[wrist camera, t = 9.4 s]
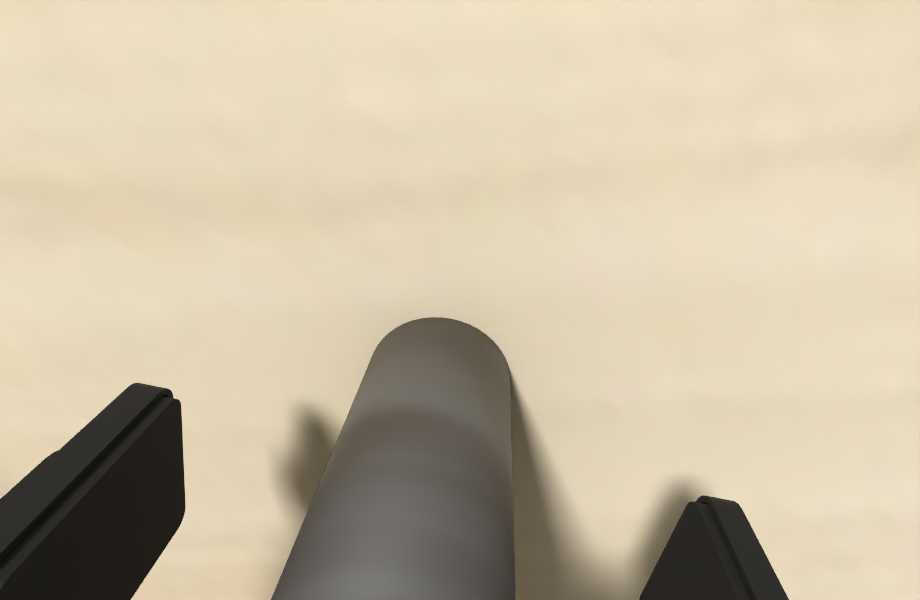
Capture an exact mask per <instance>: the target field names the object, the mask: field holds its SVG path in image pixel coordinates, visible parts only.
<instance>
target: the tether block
mask: <svg viewBox="0 0 920 600" xmlns="http://www.w3.org/2000/svg"><path fill="white" fill-rule="evenodd" d="M271 600H515V561H514V519H513V476H512V434H511V391H510V373H509V368H508V365H507V362H506V359H505V357H504V355H503V353H502V352H501V350H500V349H499V347H498V346H497V345H496V344H495V343H494V342H493V340H491V339H490V338H489V337H488V336H487V335H486V334H484V333H483V332H481V331H480V330H479V329H477V328H475V327H473V326H471V325H469V324H466V323H464V322H461V321H457V320H453V319H448V318H422V319H418V320H413V321H410V322H408V323H405V324H403V325H401V326H399V327H397V328H395V329H394V330H393V331H391V332H390V333H388V334H387V335H386V336H385V337H384V338H383V339H382V341H381V342H380V343H379V344H378V346H377V348H376V349H375V351H374V353H373V356H372V358H371V360H370V363H369V365H368V368H367V370H366V372H365V375H364V377H363V380H362V382H361V384H360V387H359V389H358V392H357V394H356V396H355V399H354V401H353V404H352V406H351V408H350V411H349V413H348V416H347V418H346V421H345V423H344V425H343V428H342V430H341V433H340V435H339V437H338V440H337V442H336V445H335V447H334V449H333V452H332V454H331V457H330V459H329V461H328V464H327V466H326V469H325V471H324V473H323V476H322V478H321V481H320V483H319V486H318V488H317V490H316V493H315V495H314V498H313V500H312V502H311V505H310V507H309V510H308V512H307V514H306V517H305V519H304V522H303V524H302V526H301V529H300V531H299V534H298V536H297V538H296V541H295V543H294V546H293V548H292V551H291V553H290V555H289V558H288V560H287V563H286V565H285V567H284V570H283V572H282V575H281V577H280V579H279V582H278V584H277V587H276V589H275V591H274V594H273V596H272V599H271Z"/></svg>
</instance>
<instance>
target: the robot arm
mask: <svg viewBox="0 0 920 600" xmlns="http://www.w3.org/2000/svg"><path fill="white" fill-rule="evenodd" d="M184 512H185V487H184V464H183V440H182V417H181V403H180V401H179V400H178V399H174V398H173V394H172V392H171V390H169V389H166V388H161V387H156V386H151V385H146V384H141V383H134V384H132V385H130V386H129V387H128V388H127V389H126V390H124V391H123V392H122V393H121V394H120V395H119V396H118V397H117V398H116V399H115V400H114V401H112V402H111V403H110V404H109V405H108V406H107V407H106V408H105V409H104V410H103V411H101V412H100V413H99V414H98V415H97V416H96V417H95V418H94V419H93V420H92V421H91V422H89V423H88V424H87V425H86V426H85V427H84V428H83V429H82V430H81V431H80V432H78V433H77V434H76V435H75V436H74V437H73V438H72V439H71V440H70V441H69V442H68V443H66V444H65V445H64V446H63V447H62V448H61V449H60V450H58V451H56V452H54V453H52V454H51V455H50V456H48V457H47V458H45V459H44V460H43V461H42V462H41V463H40V464H39V465H38V466H37V467H35V468H34V469H33V470H32V471H31V472H30V473H29V474H28V475H27V476H25V477H24V478H23V479H22V480H21V481H20V482H19V483H18V484H17V485H15V486H14V487H13V488H12V489H11V490H10V491H9V492H8V493H7V494H6V495H4V496H3V497H2V498H1V499H0V600H131V598H132V597H133V595H134V594H135V592H136V591H137V589H138V588H139V586H140V585H141V583H142V582H143V580H144V579H145V577H146V576H147V574H148V573H149V571H150V570H151V568H152V567H153V565H154V564H155V562H156V561H157V559H158V558H159V556H160V555H161V553H162V552H163V550H164V549H165V547H166V546H167V544H168V543H169V541H170V540H171V538H172V537H173V536H174V534H175V533H176V531H177V529H178V528H179V526H180V524H181V522H182V519H183V516H184ZM639 600H789V599H788V597H787V595H786V593H785V591H784V589H783V587H782V585H781V584H780V582H779V580H778V578H777V576H776V574H775V572H774V570H773V568H772V566H771V564H770V562H769V560H768V558H767V556H766V555H765V553H764V551H763V549H762V547H761V545H760V543H759V541H758V539H757V537H756V535H755V533H754V531H753V529H752V527H751V526H750V524H749V522H748V520H747V518H746V516H745V514H744V512H743V510H742V508H741V507H740V506H739V504H738V503H736V502H735V501H730V500H725V499H720V498H715V497H710V496H701V497H699V498H698V499H697V501H696V502H690V503H688V504H687V506H686V508H685V510H684V512H683V514H682V515H681V517H680V519H679V521H678V523H677V525H676V527H675V529H674V531H673V533H672V535H671V537H670V539H669V541H668V543H667V545H666V547H665V549H664V551H663V553H662V555H661V557H660V559H659V561H658V562H657V564H656V566H655V568H654V570H653V572H652V574H651V576H650V578H649V580H648V582H647V584H646V586H645V588H644V590H643V592H642V594H641V596H640V599H639Z"/></svg>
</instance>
